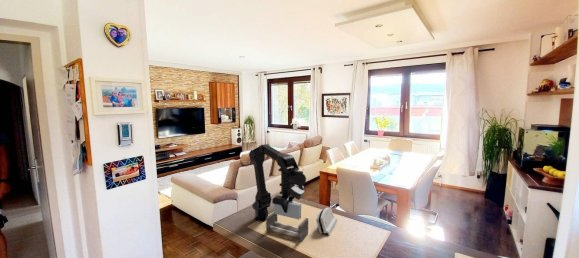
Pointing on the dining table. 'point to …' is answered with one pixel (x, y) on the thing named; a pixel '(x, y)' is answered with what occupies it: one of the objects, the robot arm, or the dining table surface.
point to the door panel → (289, 210)
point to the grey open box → (286, 229)
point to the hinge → (326, 221)
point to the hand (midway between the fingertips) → (287, 211)
